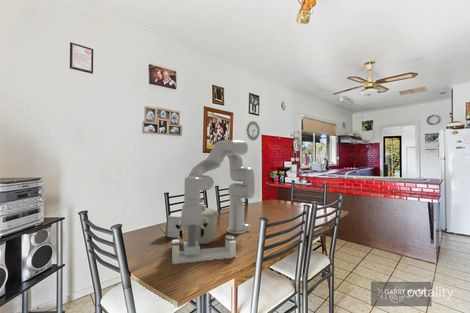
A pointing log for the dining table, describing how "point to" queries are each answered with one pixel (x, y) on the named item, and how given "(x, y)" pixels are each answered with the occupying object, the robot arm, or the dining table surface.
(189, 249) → the carriage
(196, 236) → the canister
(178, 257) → the rail track
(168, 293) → the dining table surface
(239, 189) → the robot arm
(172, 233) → the supplement box
